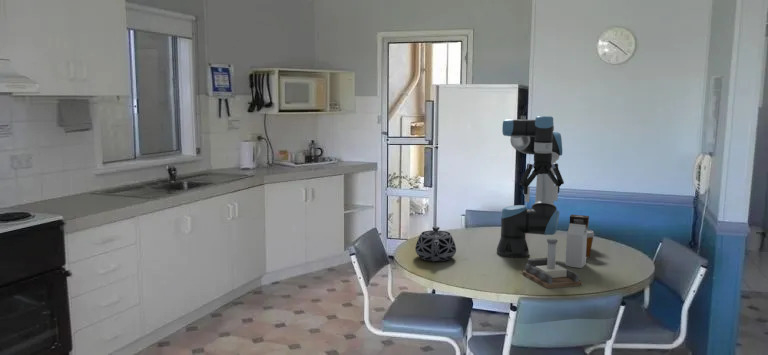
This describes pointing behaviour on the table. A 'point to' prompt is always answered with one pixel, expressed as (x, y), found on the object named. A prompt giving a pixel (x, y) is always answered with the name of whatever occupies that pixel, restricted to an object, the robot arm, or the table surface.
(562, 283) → the base
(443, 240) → the black lattice pot
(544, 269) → the white pillar stand
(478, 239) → the table surface
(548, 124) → the robot arm
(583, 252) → the milk carton
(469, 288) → the table surface
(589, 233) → the disposable coffee cup
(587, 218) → the coffee box
